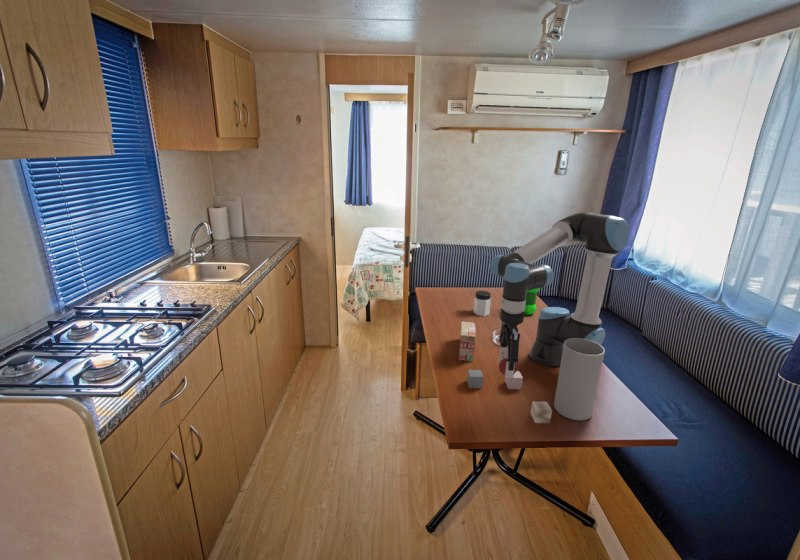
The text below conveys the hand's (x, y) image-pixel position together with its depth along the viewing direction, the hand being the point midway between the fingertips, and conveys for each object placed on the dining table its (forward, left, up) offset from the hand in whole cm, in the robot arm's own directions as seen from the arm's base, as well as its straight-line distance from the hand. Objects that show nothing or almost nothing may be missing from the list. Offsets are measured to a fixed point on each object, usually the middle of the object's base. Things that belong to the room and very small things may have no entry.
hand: (505, 370), depth 142 cm
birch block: (-11, +7, -14) cm, 19 cm away
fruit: (0, 0, -1) cm, 1 cm away
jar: (-8, -86, -14) cm, 87 cm away
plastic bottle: (-34, -88, -14) cm, 95 cm away
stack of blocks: (+7, -41, -14) cm, 44 cm away
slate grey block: (+8, -13, -14) cm, 20 cm away
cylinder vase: (-24, +2, -14) cm, 28 cm away
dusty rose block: (-7, -13, -14) cm, 20 cm away
